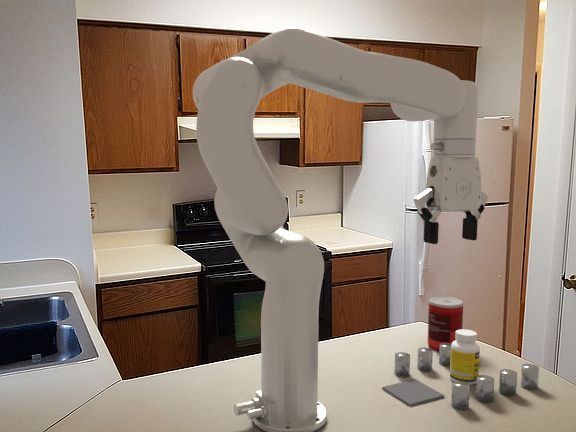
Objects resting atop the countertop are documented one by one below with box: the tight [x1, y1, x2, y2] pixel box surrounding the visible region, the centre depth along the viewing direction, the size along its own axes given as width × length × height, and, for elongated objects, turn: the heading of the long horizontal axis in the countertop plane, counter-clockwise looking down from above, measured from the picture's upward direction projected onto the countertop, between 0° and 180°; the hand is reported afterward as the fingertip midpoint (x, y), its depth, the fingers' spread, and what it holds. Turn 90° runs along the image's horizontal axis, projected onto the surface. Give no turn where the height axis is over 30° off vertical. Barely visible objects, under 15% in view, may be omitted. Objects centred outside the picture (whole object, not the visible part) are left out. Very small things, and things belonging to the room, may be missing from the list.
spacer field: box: [394, 343, 540, 411], centre depth 106 cm, size 21×19×4 cm
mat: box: [381, 378, 445, 407], centre depth 101 cm, size 8×8×1 cm
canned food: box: [427, 295, 464, 352], centre depth 125 cm, size 8×8×11 cm
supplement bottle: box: [449, 328, 481, 386], centre depth 106 cm, size 5×5×10 cm
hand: (450, 241), depth 101 cm, fingers open, 9 cm apart
